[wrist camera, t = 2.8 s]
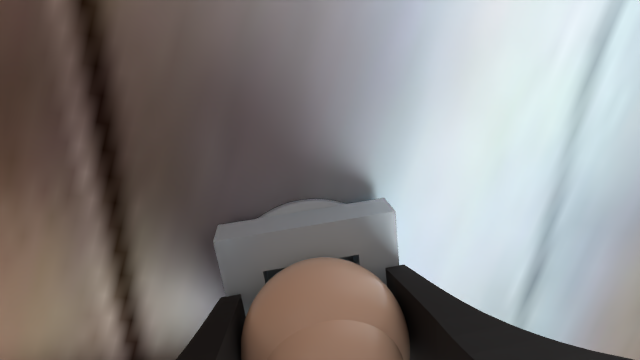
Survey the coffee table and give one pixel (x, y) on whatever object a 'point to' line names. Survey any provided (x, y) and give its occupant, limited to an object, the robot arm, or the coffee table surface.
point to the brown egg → (325, 315)
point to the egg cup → (305, 241)
